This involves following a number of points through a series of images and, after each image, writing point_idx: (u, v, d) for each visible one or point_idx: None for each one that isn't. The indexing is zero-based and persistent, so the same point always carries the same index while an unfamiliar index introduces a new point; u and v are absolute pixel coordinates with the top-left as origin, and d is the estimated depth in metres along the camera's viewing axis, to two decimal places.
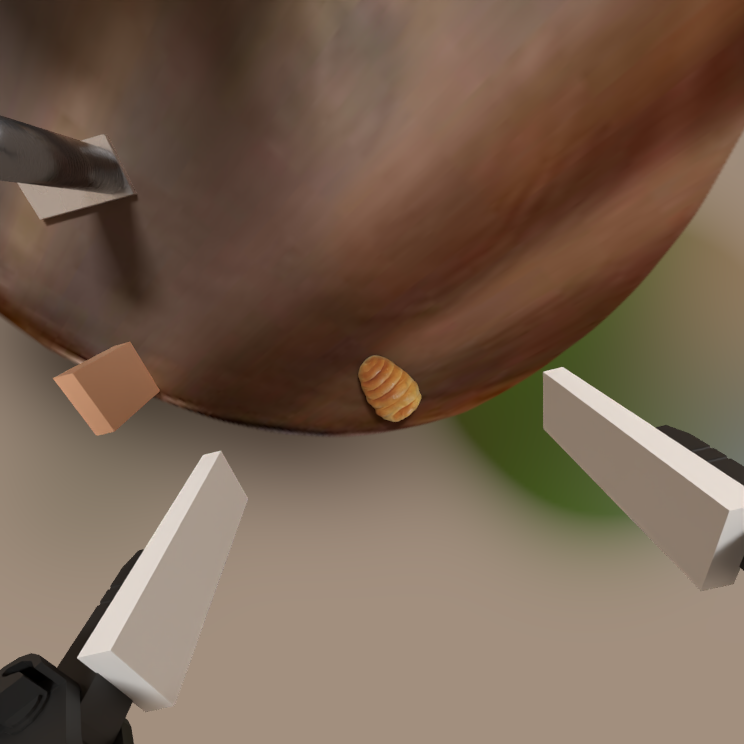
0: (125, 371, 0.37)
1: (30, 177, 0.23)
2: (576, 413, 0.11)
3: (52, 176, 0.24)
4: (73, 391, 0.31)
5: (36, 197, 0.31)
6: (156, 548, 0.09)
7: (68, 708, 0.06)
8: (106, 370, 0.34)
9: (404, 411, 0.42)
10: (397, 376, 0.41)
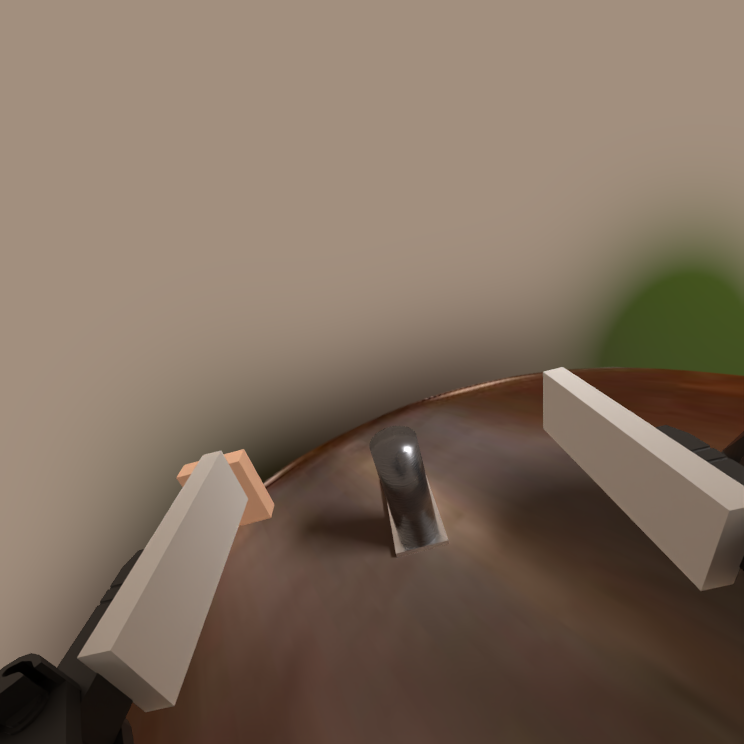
0: None
1: (375, 464, 0.26)
2: (576, 413, 0.11)
3: (382, 481, 0.27)
4: (226, 458, 0.35)
5: None
6: (156, 548, 0.09)
7: (68, 708, 0.06)
8: None
9: None
10: None
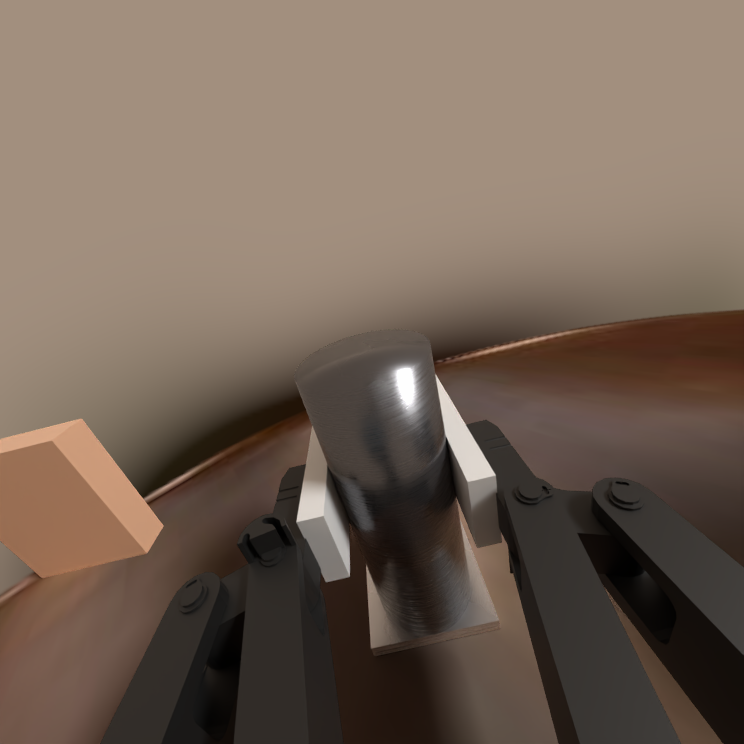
0: (76, 527, 0.19)
1: None
2: None
3: (332, 470, 0.10)
4: (37, 435, 0.17)
5: None
6: (317, 458, 0.11)
7: (298, 567, 0.08)
8: (70, 497, 0.18)
9: None
10: None
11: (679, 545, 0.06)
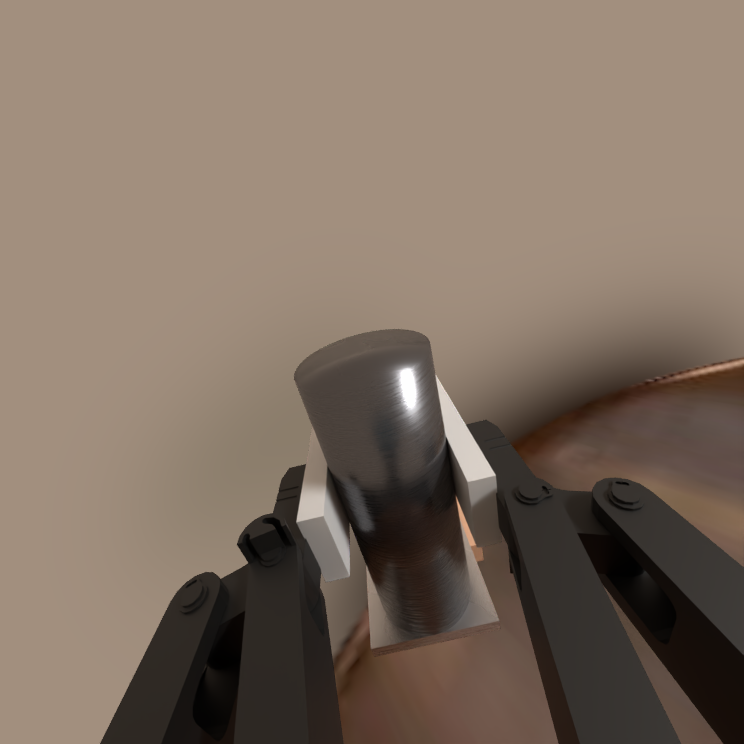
0: None
1: (311, 423, 0.09)
2: None
3: (332, 471, 0.10)
4: None
5: None
6: (317, 459, 0.11)
7: (298, 567, 0.08)
8: None
9: None
10: None
11: (679, 545, 0.06)
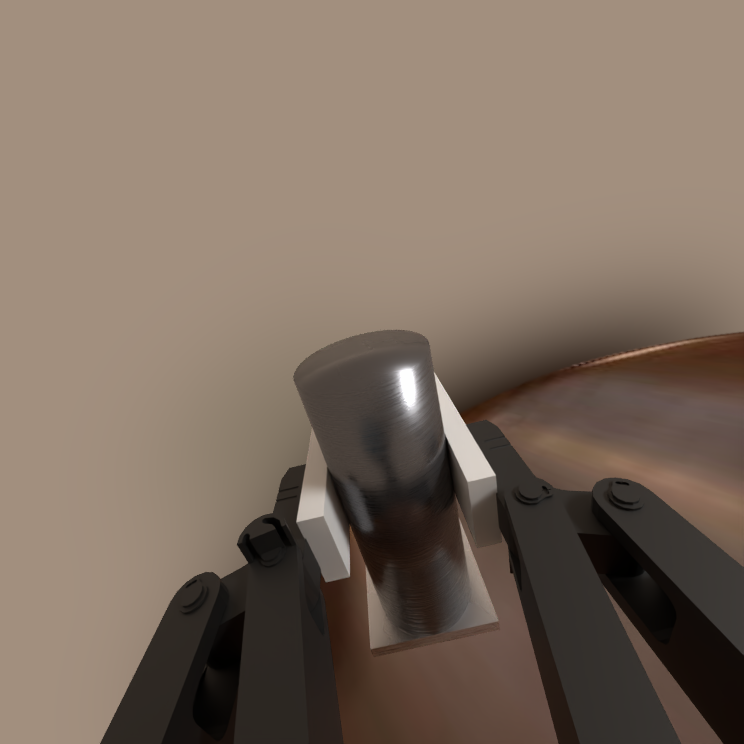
0: None
1: (311, 423, 0.09)
2: None
3: (331, 471, 0.10)
4: None
5: None
6: (317, 458, 0.11)
7: (298, 567, 0.08)
8: None
9: None
10: None
11: (679, 545, 0.06)
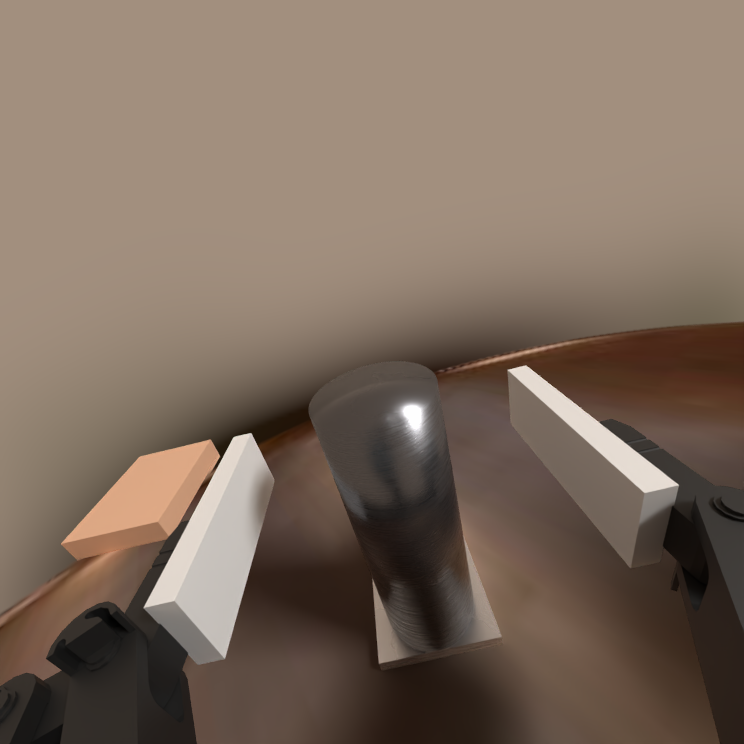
0: (149, 493, 0.24)
1: None
2: (534, 408, 0.11)
3: (344, 499, 0.10)
4: None
5: None
6: (202, 517, 0.09)
7: (138, 655, 0.07)
8: (177, 469, 0.26)
9: None
10: None
11: None
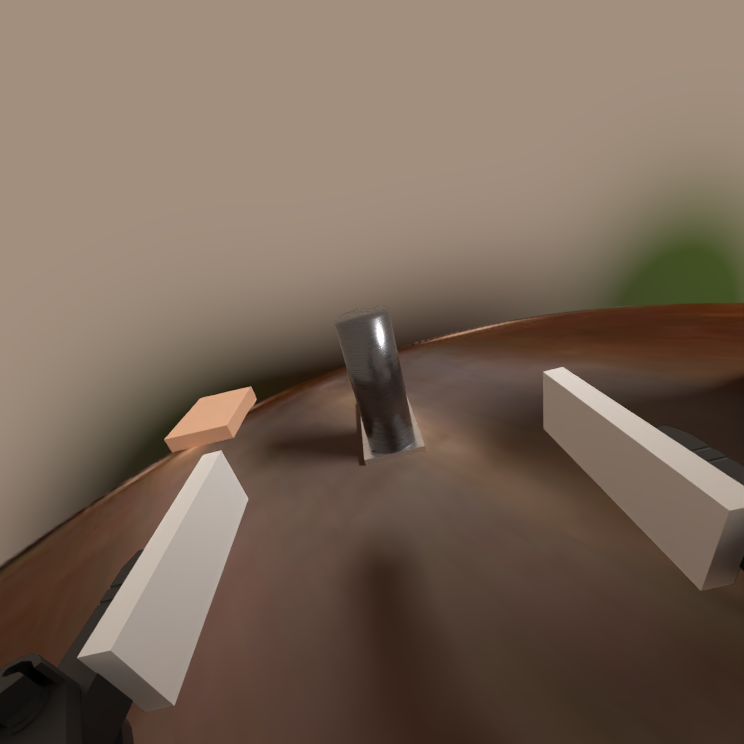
0: (215, 414, 0.37)
1: (340, 342, 0.23)
2: (576, 413, 0.11)
3: (348, 364, 0.23)
4: None
5: None
6: (156, 548, 0.09)
7: (68, 708, 0.06)
8: (231, 402, 0.39)
9: None
10: None
11: None
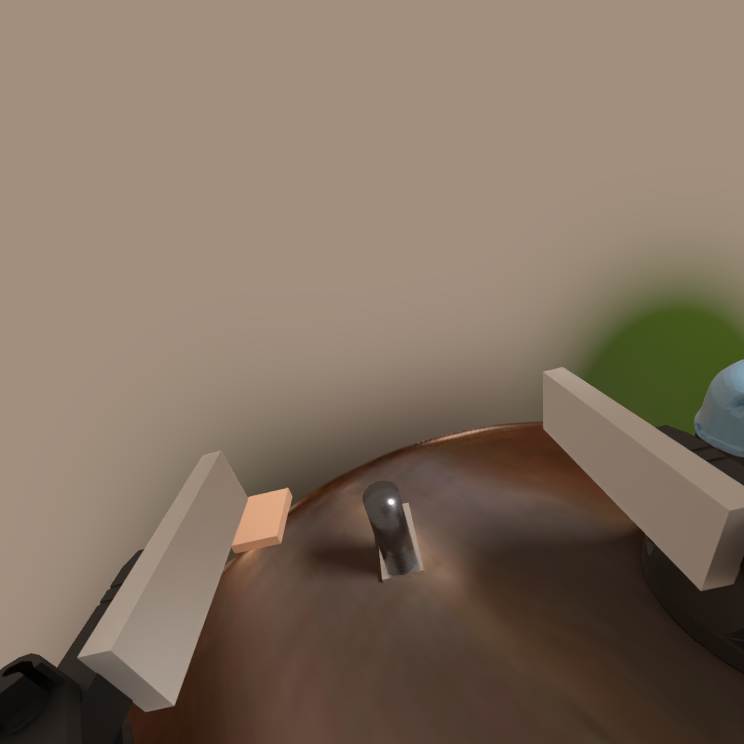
0: (265, 520, 0.48)
1: (367, 512, 0.34)
2: (576, 413, 0.11)
3: (372, 525, 0.35)
4: None
5: None
6: (156, 548, 0.09)
7: (68, 708, 0.06)
8: (275, 506, 0.50)
9: None
10: None
11: None
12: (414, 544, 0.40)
